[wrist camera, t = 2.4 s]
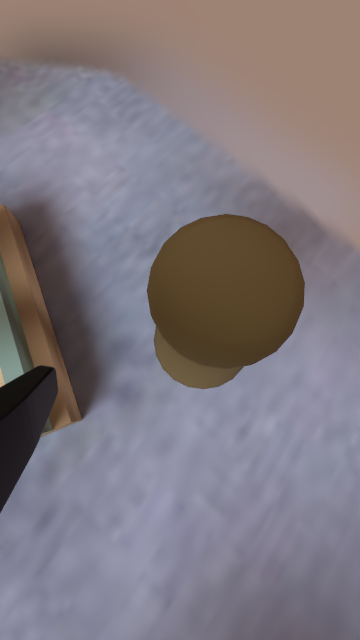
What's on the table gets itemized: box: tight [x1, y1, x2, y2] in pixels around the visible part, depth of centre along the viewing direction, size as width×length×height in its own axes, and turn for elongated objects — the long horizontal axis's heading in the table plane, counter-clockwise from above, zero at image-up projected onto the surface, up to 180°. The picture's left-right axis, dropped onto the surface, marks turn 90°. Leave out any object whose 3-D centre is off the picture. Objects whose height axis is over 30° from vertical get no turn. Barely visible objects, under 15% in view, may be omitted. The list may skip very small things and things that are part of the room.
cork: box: [147, 214, 305, 389], centre depth 14 cm, size 6×6×11 cm
